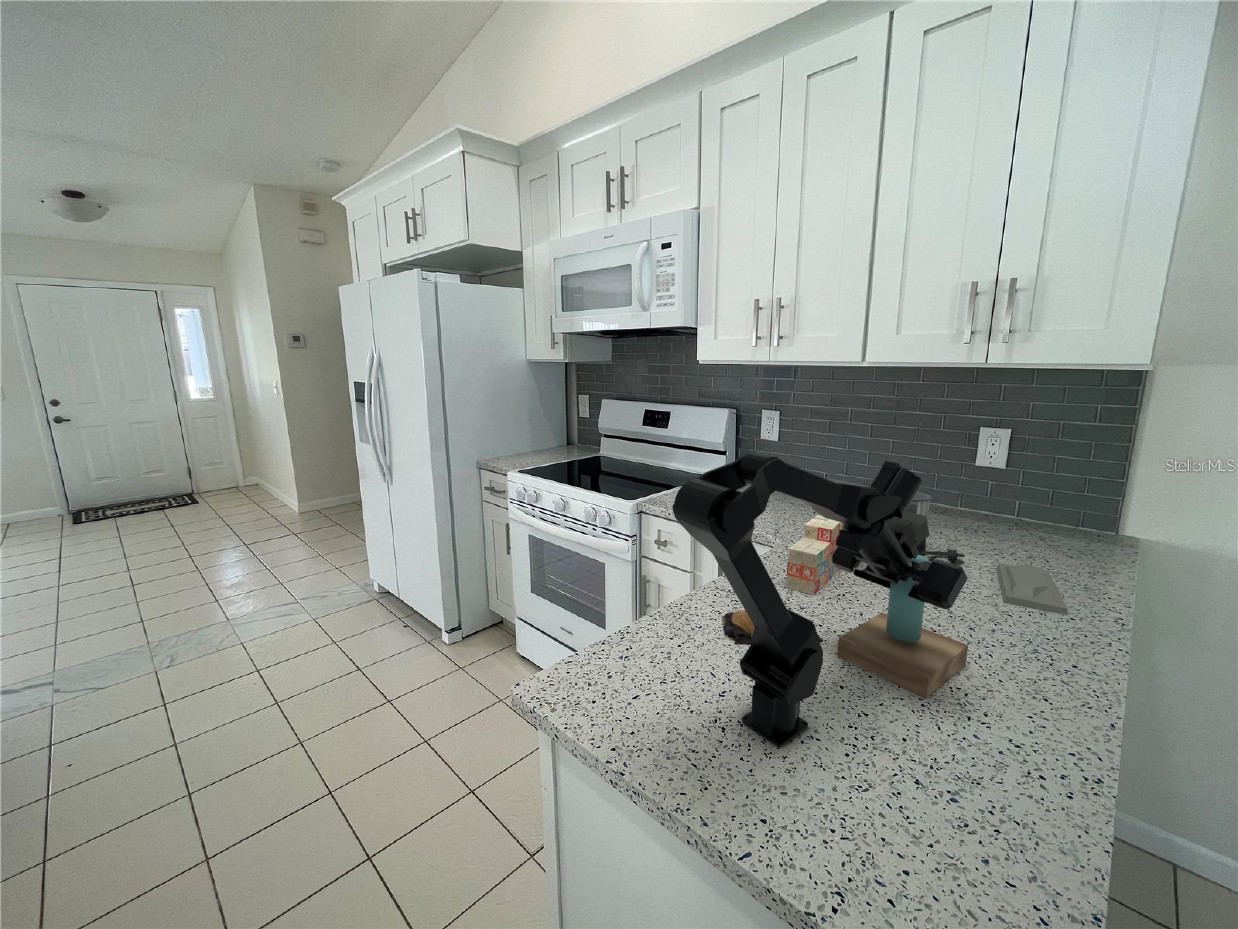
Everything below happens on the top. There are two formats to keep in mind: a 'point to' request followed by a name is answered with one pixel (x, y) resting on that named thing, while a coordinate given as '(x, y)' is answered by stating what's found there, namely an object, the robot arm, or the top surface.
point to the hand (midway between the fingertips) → (911, 594)
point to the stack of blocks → (813, 556)
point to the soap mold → (1029, 588)
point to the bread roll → (738, 627)
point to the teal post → (905, 610)
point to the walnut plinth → (903, 656)
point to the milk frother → (922, 507)
